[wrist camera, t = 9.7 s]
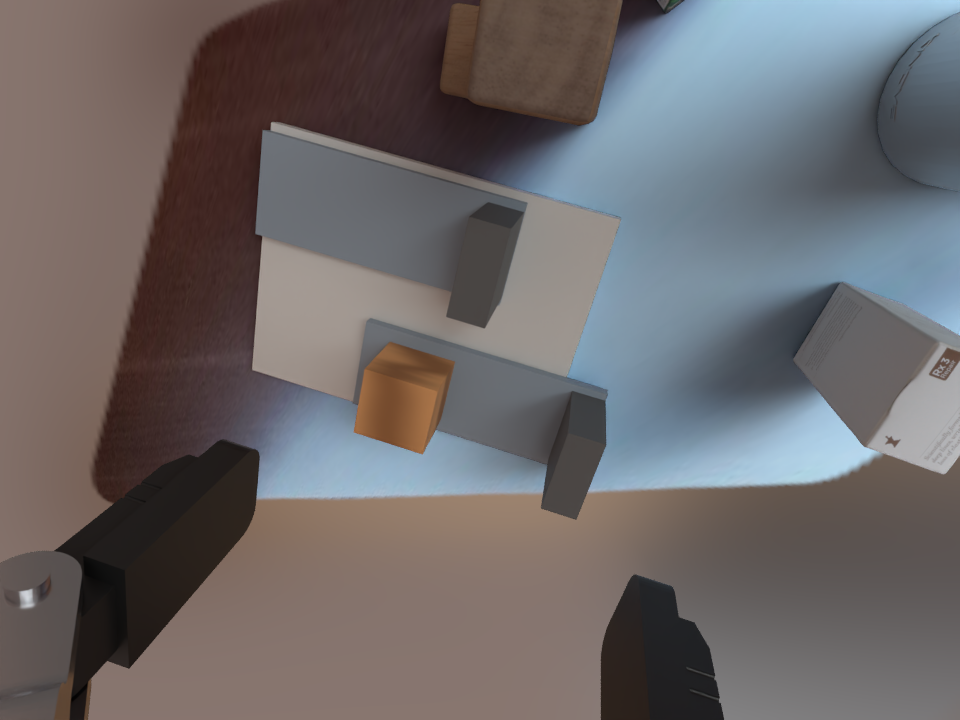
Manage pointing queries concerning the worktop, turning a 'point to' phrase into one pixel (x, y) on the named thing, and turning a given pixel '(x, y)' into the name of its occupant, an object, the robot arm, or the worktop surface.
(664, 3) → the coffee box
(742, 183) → the worktop surface
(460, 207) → the strip empty
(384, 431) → the cube
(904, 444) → the skincare box
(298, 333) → the lane board
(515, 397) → the strip with cube
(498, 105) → the wooden block
